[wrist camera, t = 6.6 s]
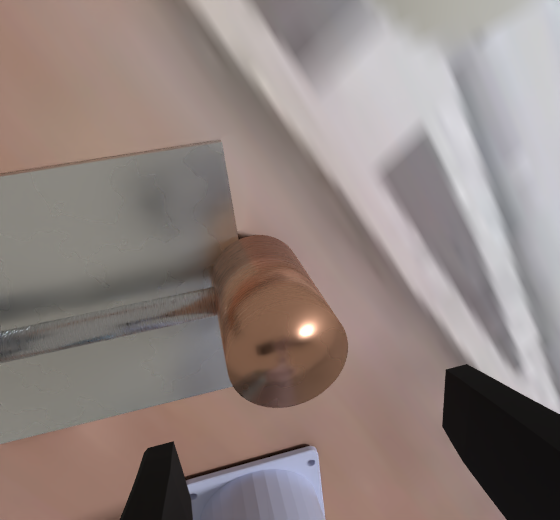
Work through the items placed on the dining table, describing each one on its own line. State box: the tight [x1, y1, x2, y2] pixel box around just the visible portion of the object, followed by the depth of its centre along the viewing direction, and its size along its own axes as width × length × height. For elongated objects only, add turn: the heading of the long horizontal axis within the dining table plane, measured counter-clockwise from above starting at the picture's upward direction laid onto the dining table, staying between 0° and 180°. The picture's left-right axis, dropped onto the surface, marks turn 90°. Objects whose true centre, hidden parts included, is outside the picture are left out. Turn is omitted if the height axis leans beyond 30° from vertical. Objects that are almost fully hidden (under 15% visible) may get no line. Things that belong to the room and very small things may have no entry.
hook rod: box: [0, 235, 348, 408], centre depth 15 cm, size 15×4×6 cm, turn 97°
